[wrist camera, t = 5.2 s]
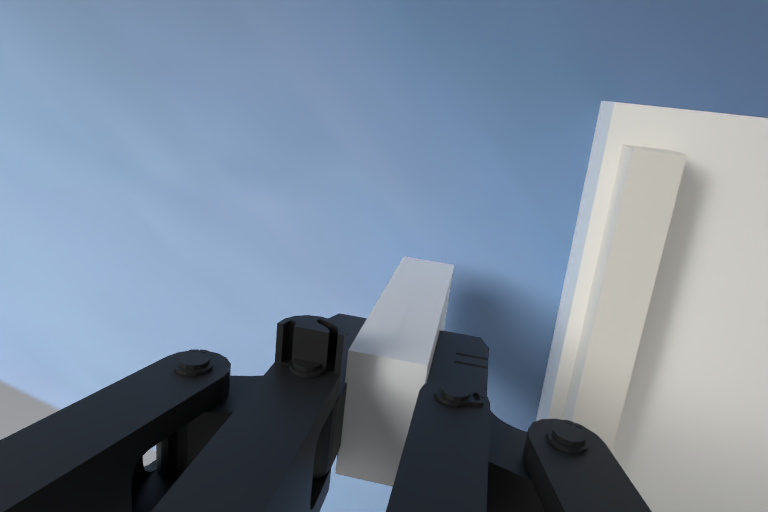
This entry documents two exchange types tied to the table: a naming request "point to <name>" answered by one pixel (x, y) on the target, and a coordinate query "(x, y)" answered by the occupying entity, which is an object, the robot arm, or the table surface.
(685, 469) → the panel
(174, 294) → the table surface
